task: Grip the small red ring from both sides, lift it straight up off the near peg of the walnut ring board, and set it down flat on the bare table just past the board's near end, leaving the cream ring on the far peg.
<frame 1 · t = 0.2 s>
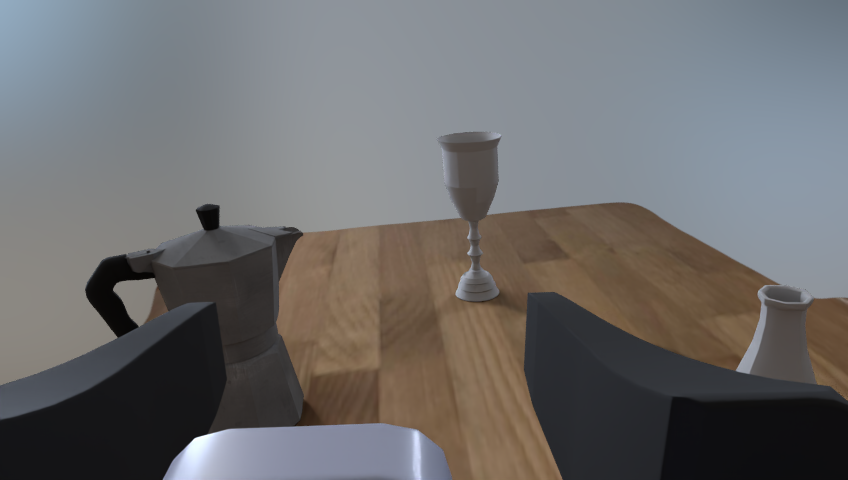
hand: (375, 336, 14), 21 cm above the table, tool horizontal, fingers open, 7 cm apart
chalice: (477, 293, 69), on the table
flask: (769, 422, 43), on the table
coffeepot: (236, 424, 48), on the table
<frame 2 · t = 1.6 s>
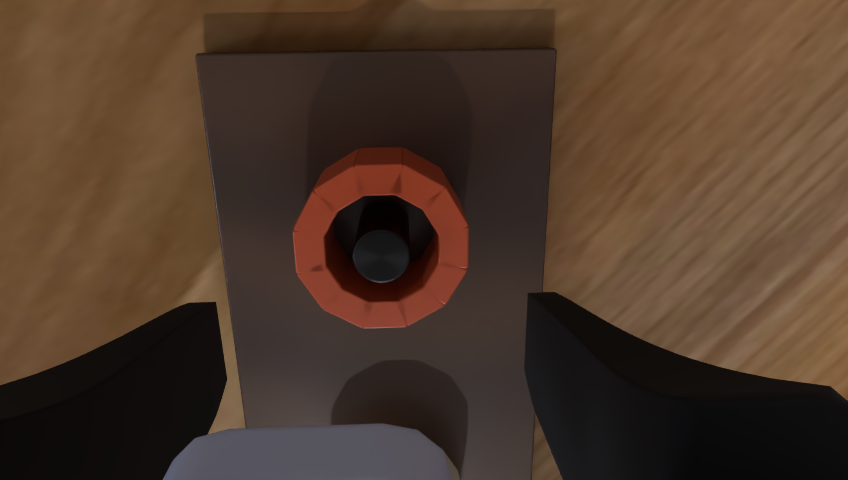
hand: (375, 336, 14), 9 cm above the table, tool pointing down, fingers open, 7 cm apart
ring board: (389, 353, 25), on the table
red ring: (384, 223, 22), point 1 cm above the table, touching ring board
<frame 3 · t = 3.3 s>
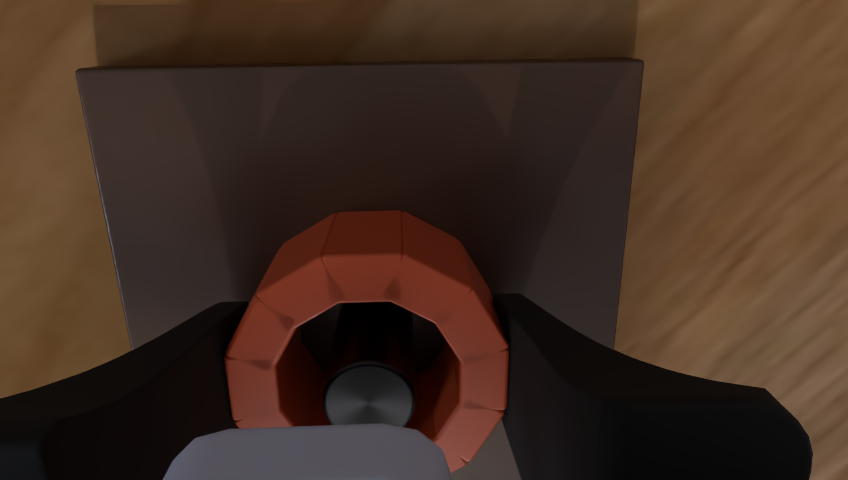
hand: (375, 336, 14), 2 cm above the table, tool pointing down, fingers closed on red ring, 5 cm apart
red ring: (374, 320, 14), point 1 cm above the table, touching gripper, ring board
when the fingers open (1 cm above the table, at t = 8.5 s): red ring stays where it is, on the table.
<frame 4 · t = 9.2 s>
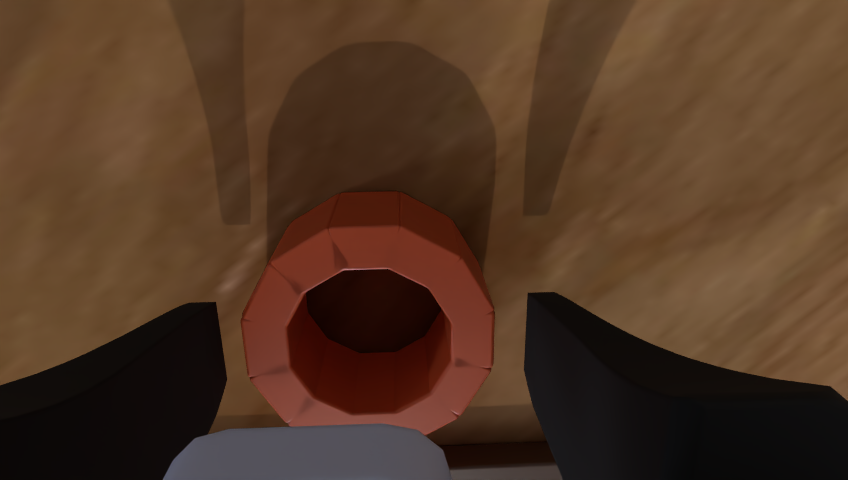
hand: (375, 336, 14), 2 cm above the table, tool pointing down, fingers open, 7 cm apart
red ring: (374, 292, 16), on the table
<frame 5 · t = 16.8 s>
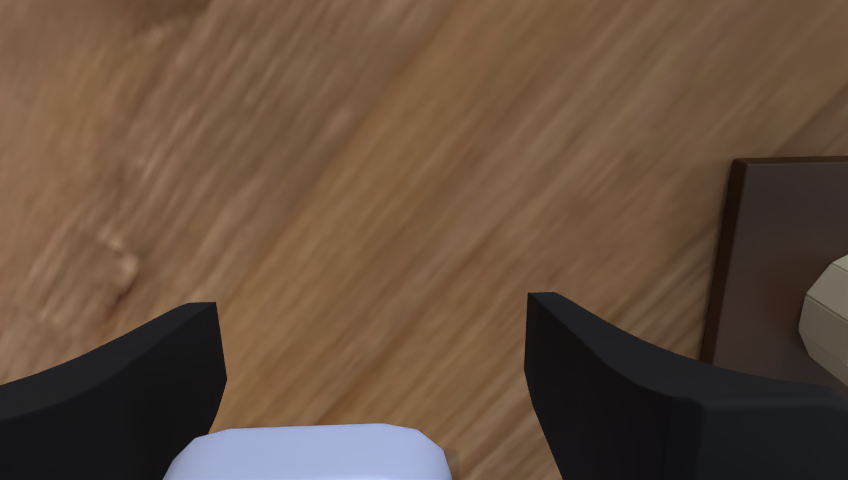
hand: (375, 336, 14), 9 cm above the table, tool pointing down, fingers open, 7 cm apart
ring board: (821, 420, 27), on the table
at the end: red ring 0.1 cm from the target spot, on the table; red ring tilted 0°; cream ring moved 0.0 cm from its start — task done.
